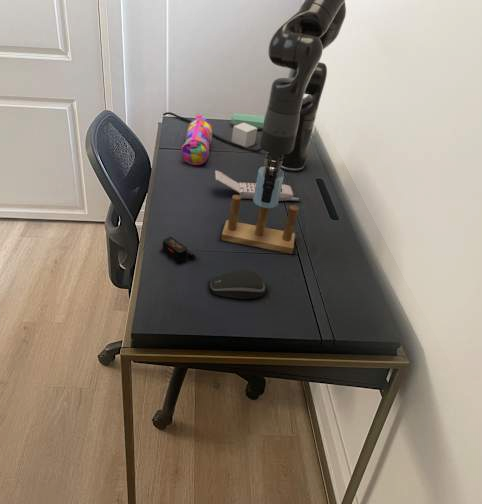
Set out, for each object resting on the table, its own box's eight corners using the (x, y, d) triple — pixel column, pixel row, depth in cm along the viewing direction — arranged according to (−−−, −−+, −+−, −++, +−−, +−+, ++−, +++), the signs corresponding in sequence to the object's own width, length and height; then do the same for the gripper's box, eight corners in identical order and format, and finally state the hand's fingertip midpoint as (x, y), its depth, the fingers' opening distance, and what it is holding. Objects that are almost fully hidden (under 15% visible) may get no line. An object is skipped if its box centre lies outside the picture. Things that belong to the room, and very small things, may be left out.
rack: (221, 240, 124) (226, 202, 118) (225, 225, 130) (231, 188, 123) (292, 254, 122) (301, 216, 116) (293, 238, 128) (302, 202, 121)
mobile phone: (214, 169, 142) (299, 175, 144) (212, 187, 146) (295, 193, 148) (215, 179, 137) (303, 185, 140) (213, 198, 141) (298, 203, 143)
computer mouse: (208, 278, 111) (210, 264, 109) (262, 280, 113) (265, 266, 110) (211, 298, 106) (213, 284, 103) (267, 300, 107) (270, 286, 105)
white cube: (254, 144, 175) (257, 128, 171) (244, 148, 171) (247, 132, 167) (241, 138, 178) (244, 122, 174) (231, 142, 174) (233, 126, 170)
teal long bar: (232, 110, 182) (299, 118, 181) (232, 111, 188) (297, 119, 187) (230, 127, 183) (297, 135, 182) (230, 127, 189) (295, 135, 188)
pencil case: (184, 138, 173) (186, 113, 167) (211, 141, 173) (214, 116, 168) (179, 165, 155) (181, 138, 150) (209, 169, 155) (212, 142, 150)
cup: (254, 193, 122) (260, 164, 117) (278, 198, 122) (285, 168, 117) (251, 205, 117) (257, 175, 113) (276, 209, 117) (283, 179, 112)
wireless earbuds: (180, 266, 114) (181, 254, 112) (161, 251, 118) (162, 240, 116) (195, 259, 117) (196, 247, 115) (176, 244, 120) (177, 233, 119)
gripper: (295, 144, 102) (280, 213, 112) (298, 120, 114) (284, 184, 124) (259, 137, 103) (247, 206, 113) (266, 114, 115) (255, 179, 125)
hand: (267, 194), depth 118 cm, fingers closed on cup, 6 cm apart
